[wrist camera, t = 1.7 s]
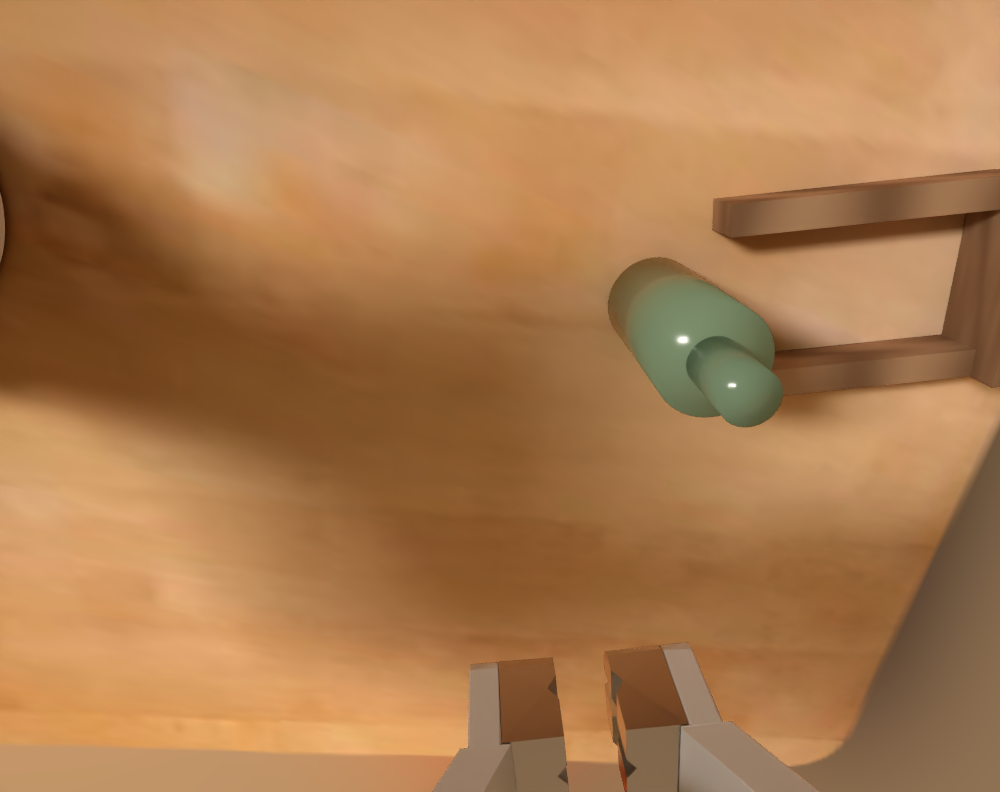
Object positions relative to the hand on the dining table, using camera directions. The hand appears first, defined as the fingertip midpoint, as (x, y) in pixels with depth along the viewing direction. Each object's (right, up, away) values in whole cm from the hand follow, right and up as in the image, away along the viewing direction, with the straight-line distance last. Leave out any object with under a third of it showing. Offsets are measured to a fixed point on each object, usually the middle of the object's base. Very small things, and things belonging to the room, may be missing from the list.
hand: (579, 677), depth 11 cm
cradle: (+16, +11, +21) cm, 29 cm away
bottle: (+7, +10, +21) cm, 24 cm away
